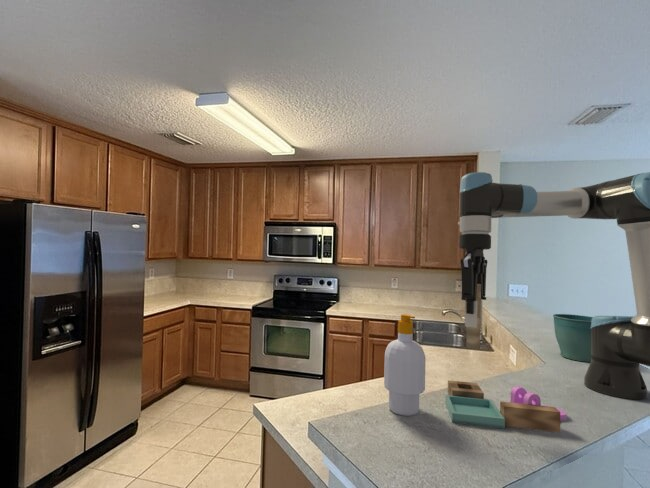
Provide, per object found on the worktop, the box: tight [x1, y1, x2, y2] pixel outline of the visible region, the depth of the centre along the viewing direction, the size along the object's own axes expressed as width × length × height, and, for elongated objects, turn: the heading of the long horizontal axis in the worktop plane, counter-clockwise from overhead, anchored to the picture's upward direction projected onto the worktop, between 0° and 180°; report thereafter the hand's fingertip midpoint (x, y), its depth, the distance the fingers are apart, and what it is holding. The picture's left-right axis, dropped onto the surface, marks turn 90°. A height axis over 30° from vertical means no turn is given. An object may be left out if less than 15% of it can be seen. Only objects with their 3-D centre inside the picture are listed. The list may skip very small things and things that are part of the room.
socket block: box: [447, 380, 485, 399], centre depth 98 cm, size 8×8×4 cm
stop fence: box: [499, 401, 561, 433], centre depth 83 cm, size 12×3×4 cm, turn 79°
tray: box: [444, 394, 506, 429], centre depth 88 cm, size 12×12×2 cm
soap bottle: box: [383, 313, 427, 417], centre depth 90 cm, size 10×10×24 cm
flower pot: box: [552, 313, 594, 363], centre depth 146 cm, size 18×18×17 cm
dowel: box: [465, 284, 481, 350], centre depth 89 cm, size 3×3×16 cm
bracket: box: [510, 385, 567, 422], centre depth 88 cm, size 13×6×7 cm, turn 103°
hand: (473, 325), depth 89 cm, fingers closed on dowel, 3 cm apart
